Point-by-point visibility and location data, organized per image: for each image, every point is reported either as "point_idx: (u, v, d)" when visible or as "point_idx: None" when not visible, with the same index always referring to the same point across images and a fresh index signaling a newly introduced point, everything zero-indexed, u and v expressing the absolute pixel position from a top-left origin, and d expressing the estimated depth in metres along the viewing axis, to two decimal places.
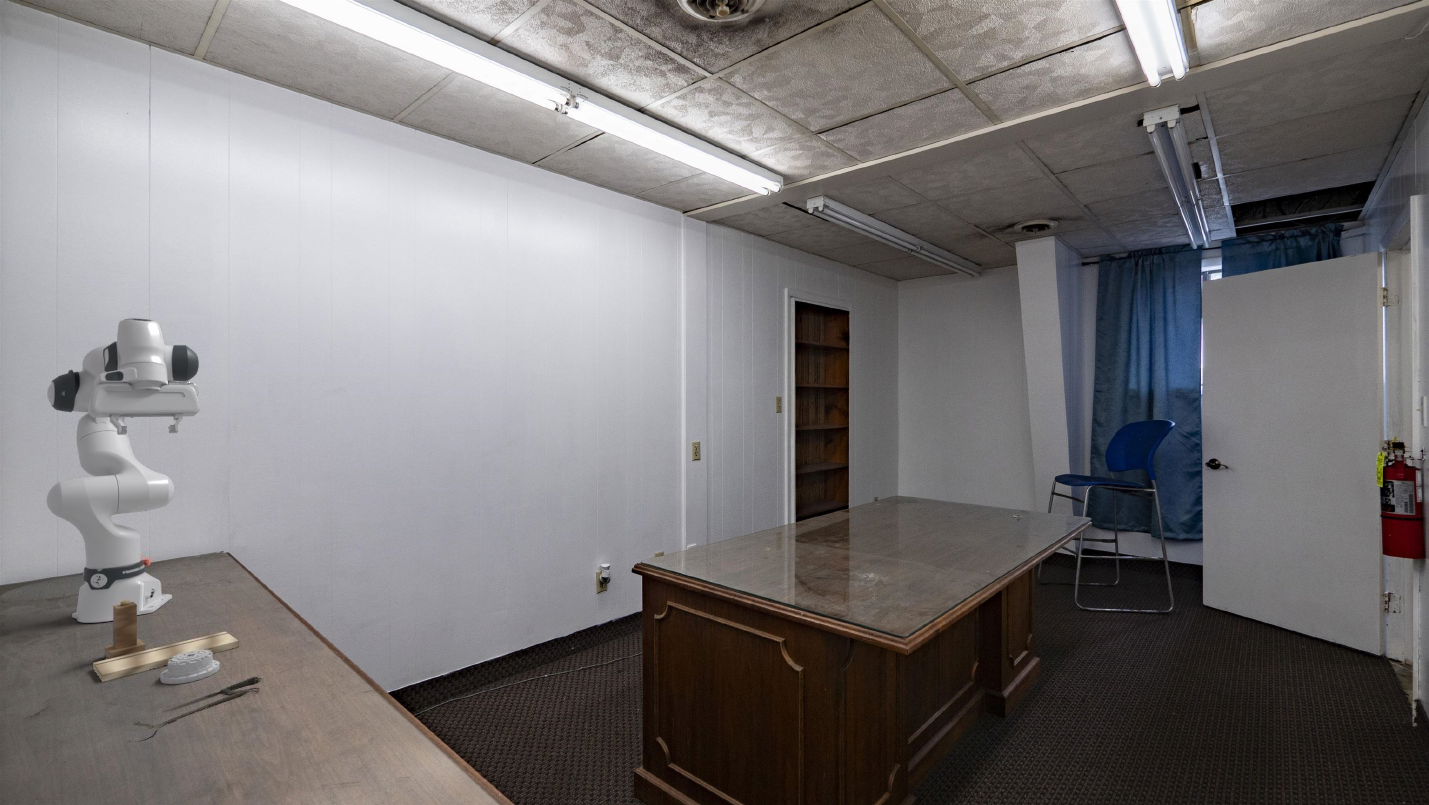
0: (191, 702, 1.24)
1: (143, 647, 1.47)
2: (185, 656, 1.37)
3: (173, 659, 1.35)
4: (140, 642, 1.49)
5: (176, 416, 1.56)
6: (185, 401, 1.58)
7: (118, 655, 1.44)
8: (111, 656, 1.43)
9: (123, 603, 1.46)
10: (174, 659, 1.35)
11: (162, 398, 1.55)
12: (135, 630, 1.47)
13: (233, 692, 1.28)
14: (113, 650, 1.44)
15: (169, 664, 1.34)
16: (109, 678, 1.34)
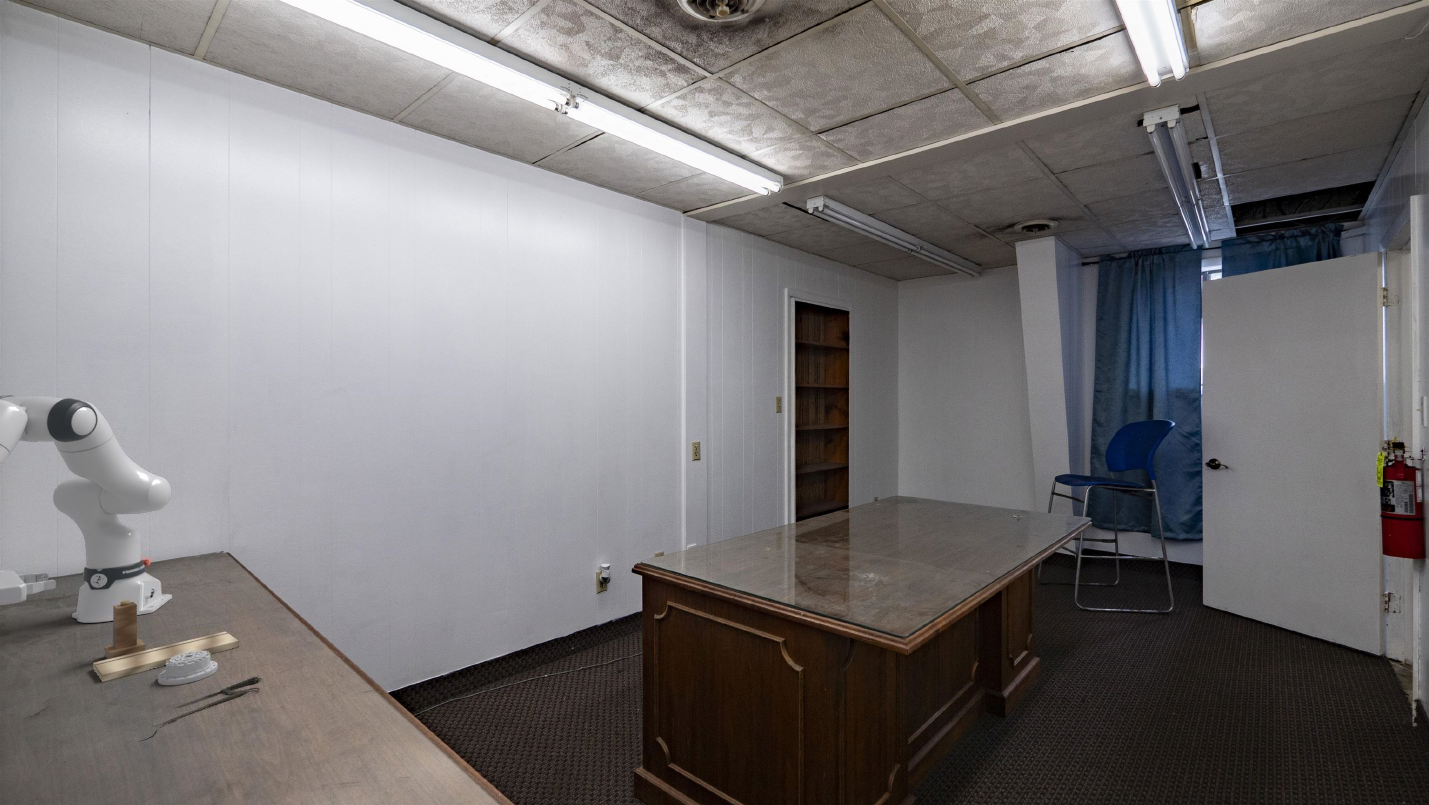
0: (191, 702, 1.24)
1: (143, 647, 1.47)
2: (183, 657, 1.36)
3: (171, 660, 1.35)
4: (140, 642, 1.49)
5: None
6: None
7: (118, 655, 1.44)
8: (111, 656, 1.43)
9: (123, 603, 1.46)
10: (172, 660, 1.35)
11: None
12: (135, 630, 1.47)
13: (233, 692, 1.28)
14: (113, 650, 1.44)
15: (167, 665, 1.34)
16: (109, 678, 1.34)
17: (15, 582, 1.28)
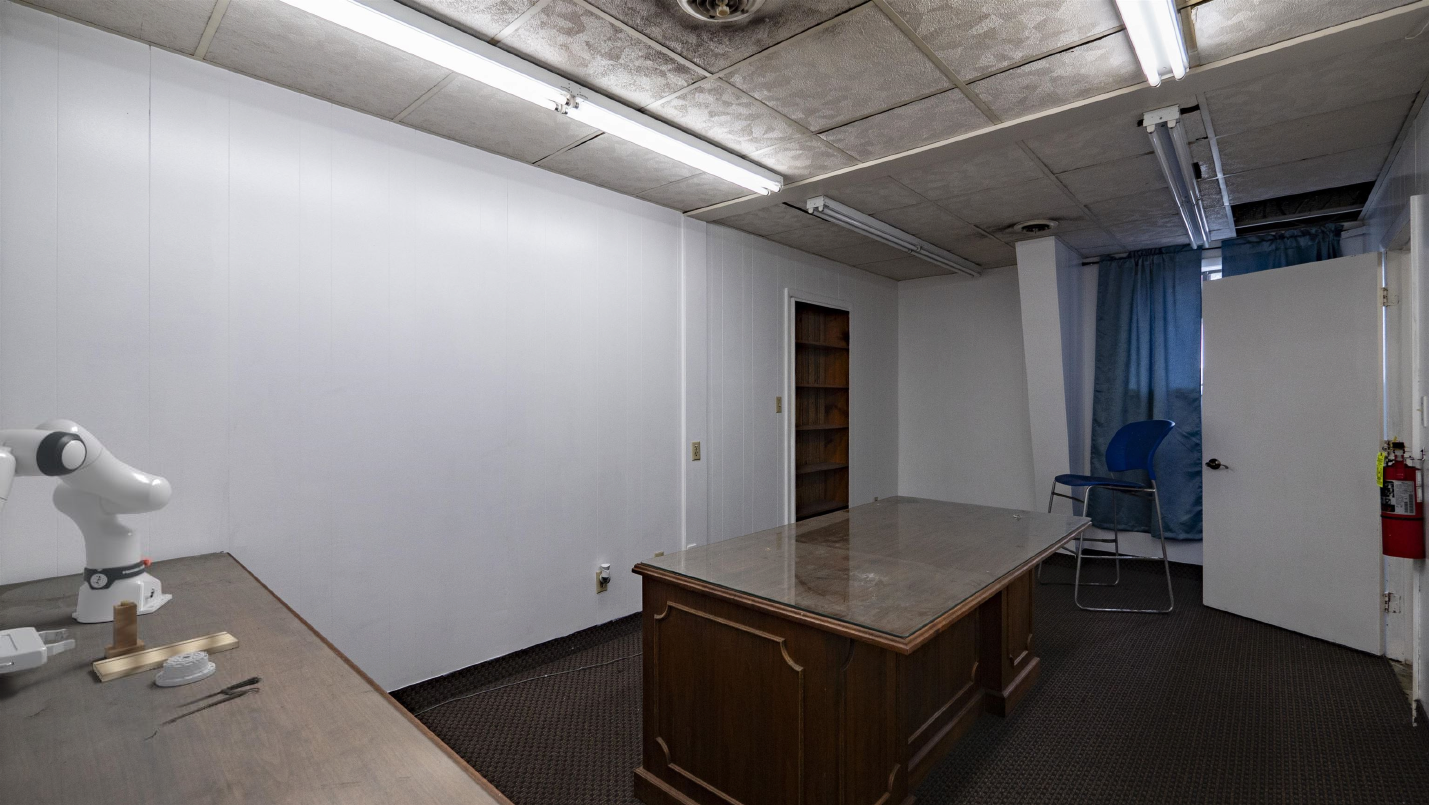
0: (191, 702, 1.24)
1: (143, 647, 1.47)
2: (180, 658, 1.36)
3: (168, 661, 1.34)
4: (140, 642, 1.49)
5: None
6: None
7: (118, 655, 1.44)
8: (111, 656, 1.43)
9: (123, 603, 1.46)
10: (169, 661, 1.34)
11: None
12: (135, 630, 1.47)
13: (233, 692, 1.28)
14: (113, 650, 1.44)
15: (164, 666, 1.33)
16: (109, 678, 1.34)
17: (36, 645, 1.31)
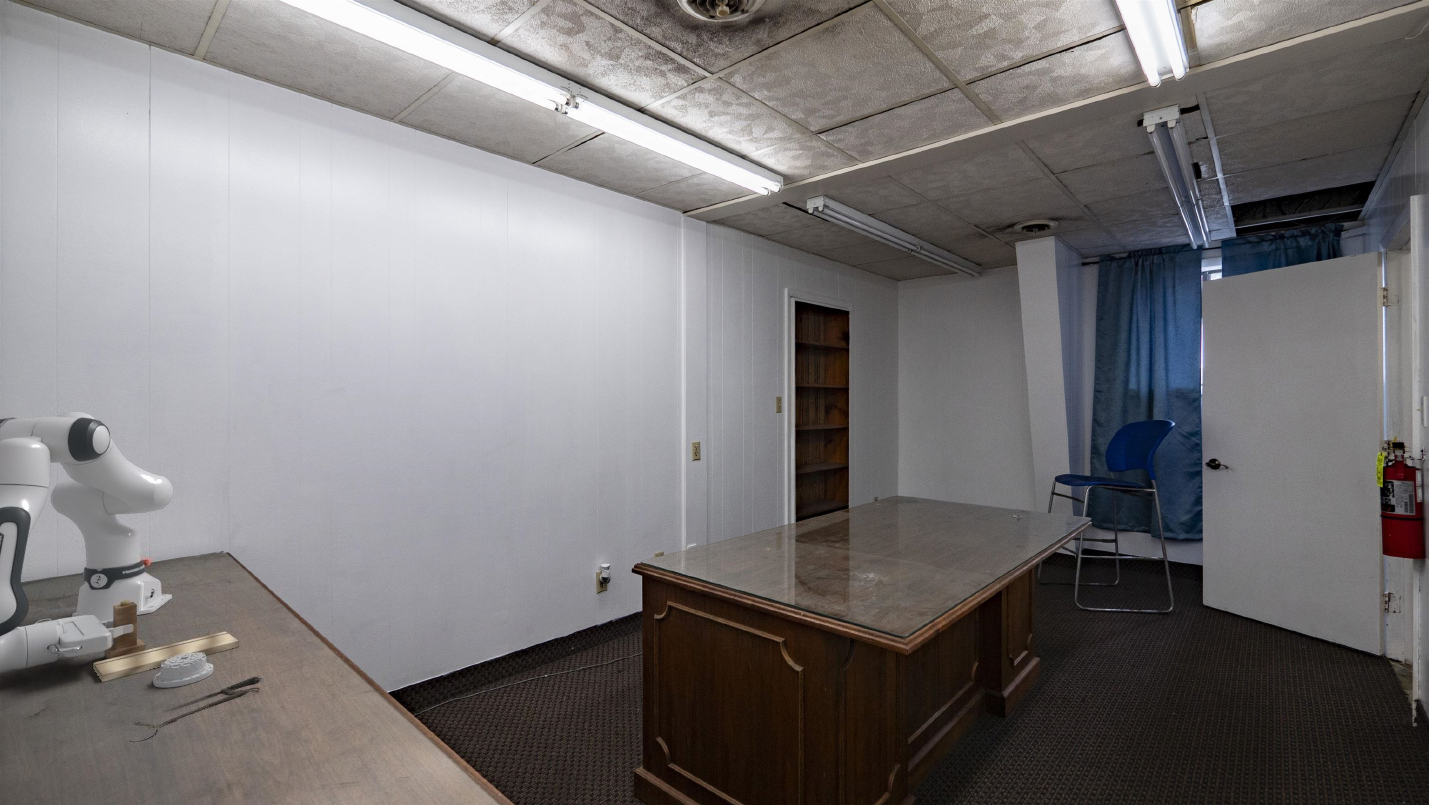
0: (191, 702, 1.24)
1: (143, 647, 1.47)
2: (178, 659, 1.35)
3: (166, 662, 1.34)
4: (140, 642, 1.49)
5: None
6: None
7: (118, 655, 1.44)
8: (111, 656, 1.43)
9: (123, 603, 1.46)
10: (167, 662, 1.34)
11: None
12: (135, 630, 1.47)
13: (233, 692, 1.28)
14: (113, 650, 1.44)
15: (162, 667, 1.32)
16: (109, 678, 1.34)
17: (101, 630, 1.39)
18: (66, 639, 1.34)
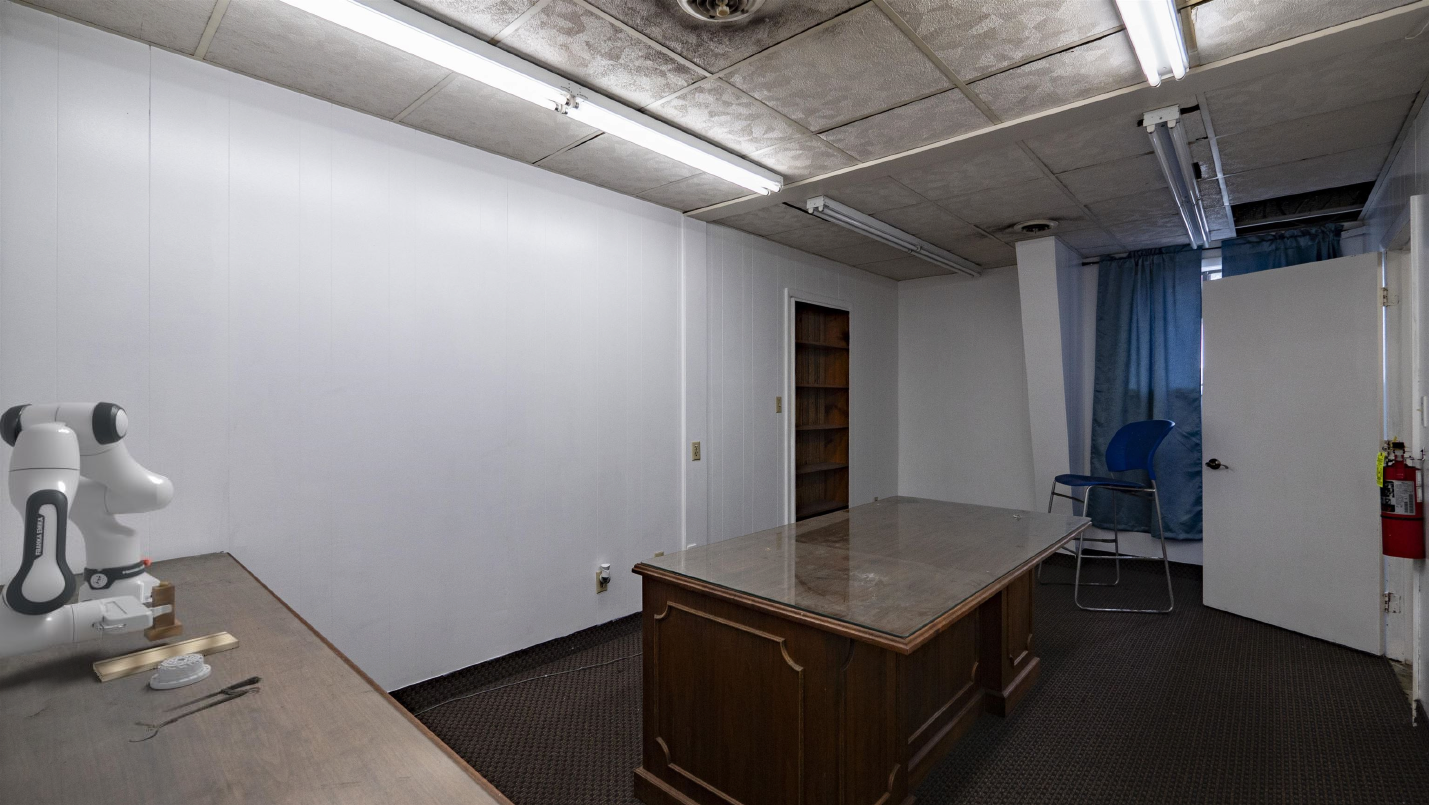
0: (192, 702, 1.24)
1: (180, 627, 1.53)
2: (175, 660, 1.34)
3: (163, 663, 1.33)
4: (177, 622, 1.54)
5: None
6: None
7: (157, 634, 1.49)
8: (151, 635, 1.48)
9: (162, 584, 1.52)
10: (164, 663, 1.33)
11: None
12: (173, 610, 1.52)
13: (234, 692, 1.28)
14: (152, 629, 1.49)
15: (159, 669, 1.32)
16: (109, 678, 1.34)
17: (142, 609, 1.44)
18: (110, 617, 1.40)
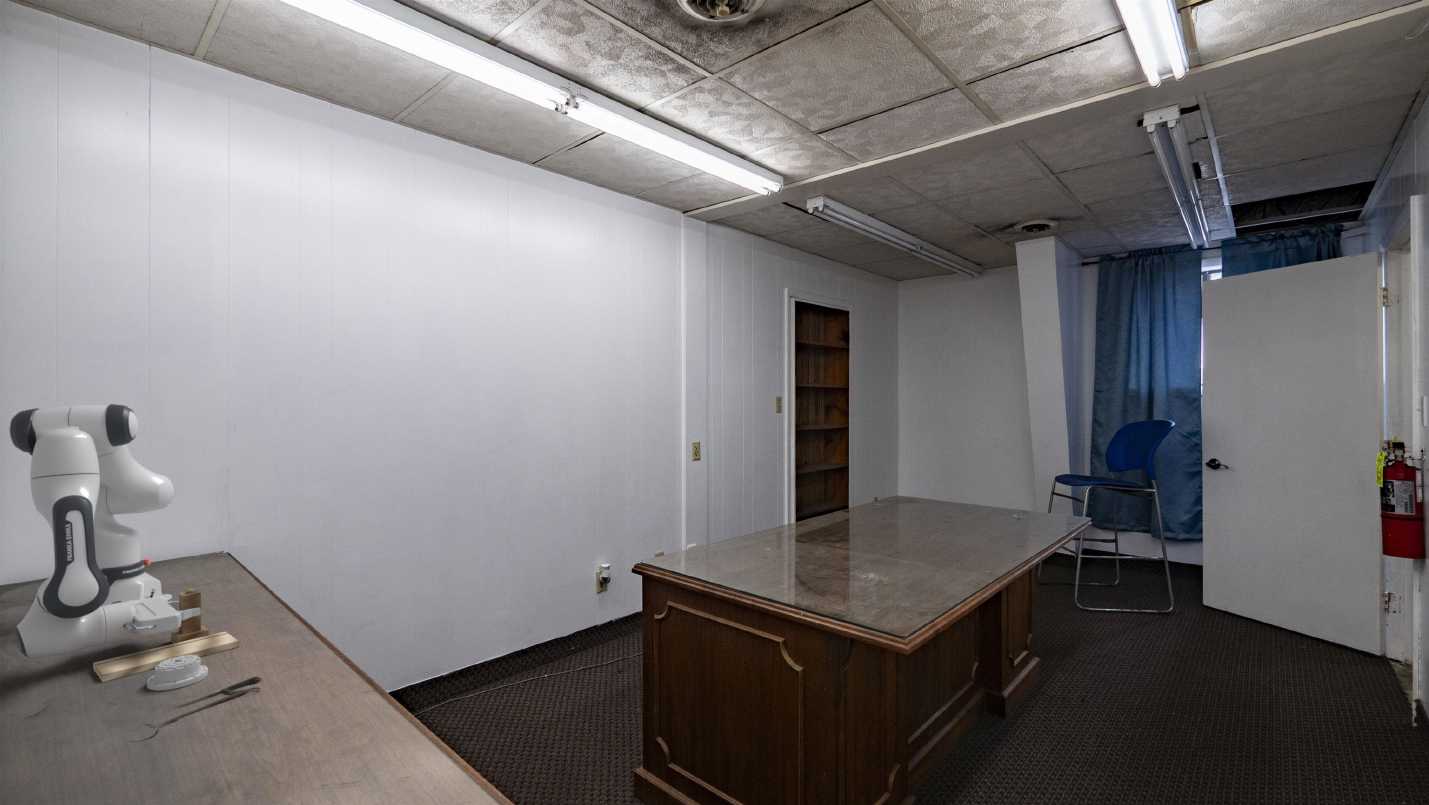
0: (192, 702, 1.24)
1: (207, 632, 1.57)
2: (172, 662, 1.34)
3: (160, 665, 1.32)
4: (203, 628, 1.58)
5: None
6: None
7: (185, 639, 1.53)
8: (179, 640, 1.52)
9: (188, 591, 1.56)
10: (161, 665, 1.32)
11: None
12: (199, 616, 1.56)
13: (234, 692, 1.28)
14: (180, 635, 1.53)
15: (156, 670, 1.31)
16: (109, 678, 1.34)
17: (171, 611, 1.48)
18: (140, 618, 1.44)
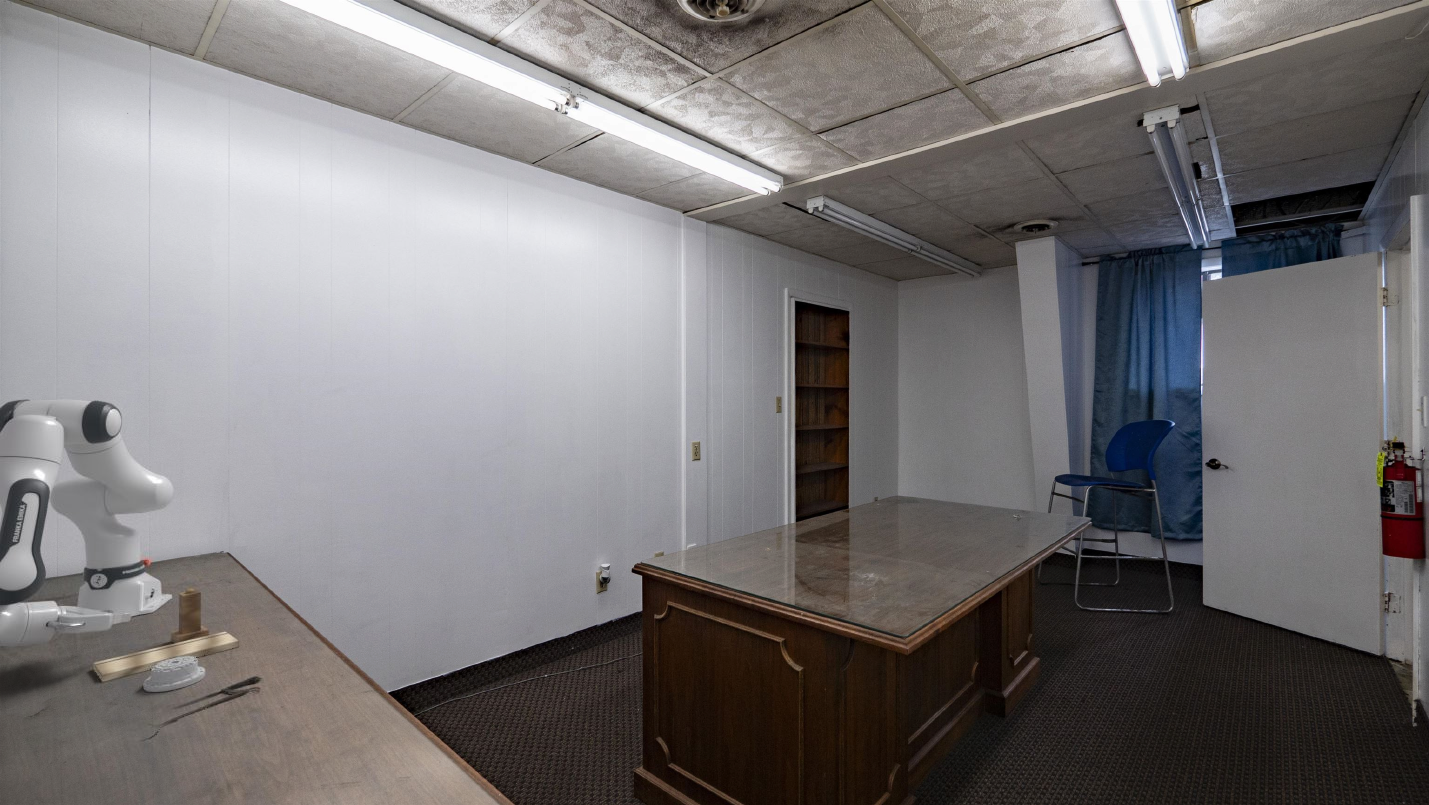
0: (192, 702, 1.24)
1: (207, 632, 1.57)
2: (169, 663, 1.33)
3: (157, 666, 1.32)
4: (203, 628, 1.58)
5: None
6: None
7: (185, 639, 1.53)
8: (179, 640, 1.52)
9: (188, 591, 1.56)
10: (158, 666, 1.32)
11: None
12: (199, 616, 1.56)
13: (234, 692, 1.28)
14: (180, 635, 1.53)
15: (152, 671, 1.30)
16: (109, 678, 1.34)
17: (101, 612, 1.40)
18: (69, 615, 1.35)
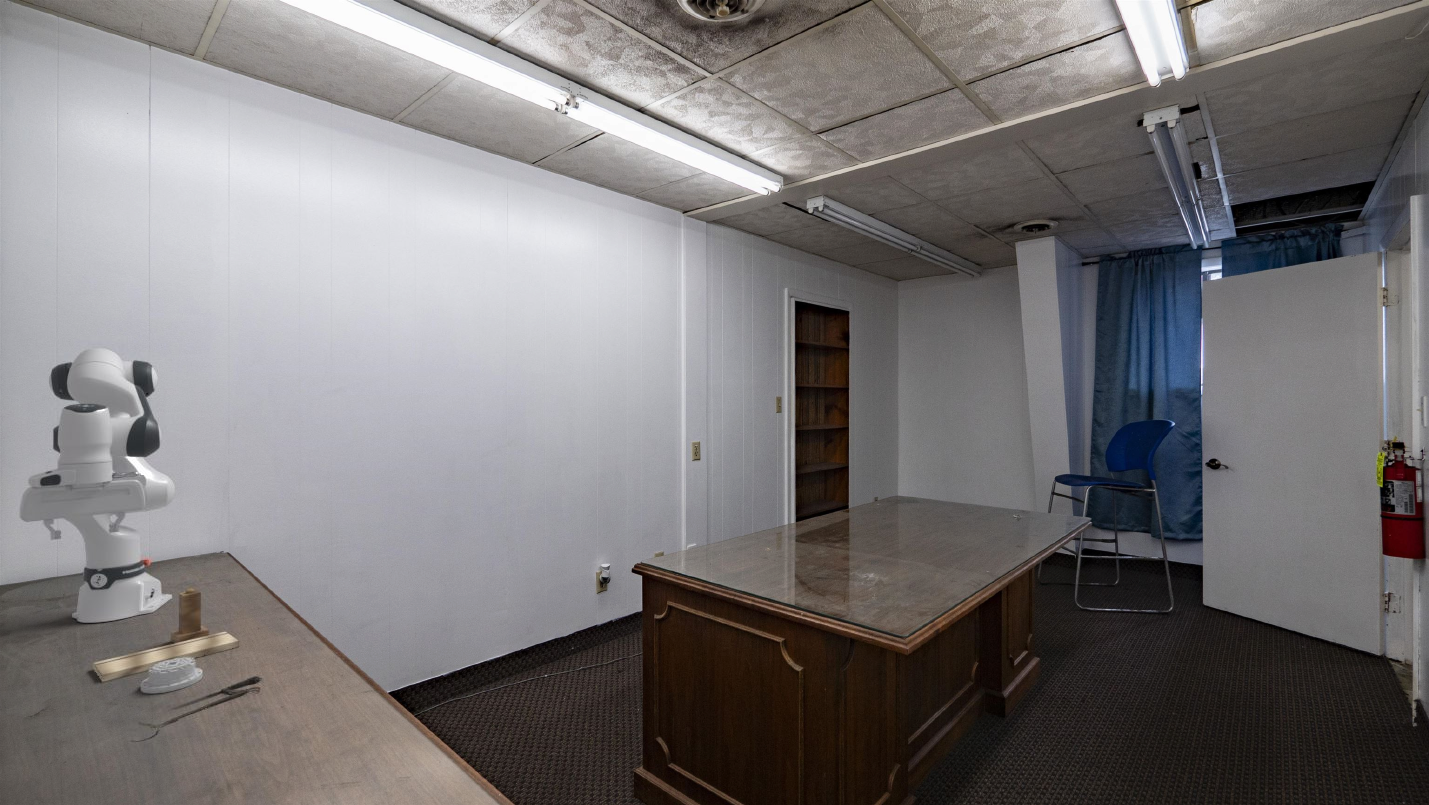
0: (192, 702, 1.24)
1: (207, 632, 1.57)
2: (167, 664, 1.32)
3: (154, 667, 1.31)
4: (203, 628, 1.58)
5: (118, 515, 1.47)
6: (129, 499, 1.48)
7: (185, 639, 1.53)
8: (179, 640, 1.52)
9: (188, 591, 1.56)
10: (155, 667, 1.31)
11: (104, 497, 1.44)
12: (199, 616, 1.56)
13: (234, 692, 1.28)
14: (180, 635, 1.53)
15: (150, 673, 1.30)
16: (109, 678, 1.34)
17: None
18: None
